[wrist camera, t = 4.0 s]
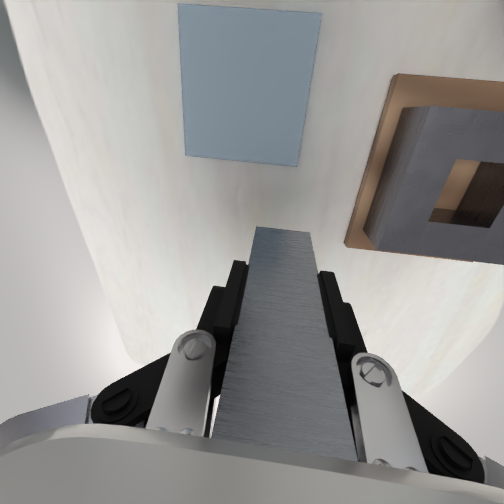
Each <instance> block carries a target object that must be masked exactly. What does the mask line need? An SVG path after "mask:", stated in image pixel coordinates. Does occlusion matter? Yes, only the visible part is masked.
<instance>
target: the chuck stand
mask: <svg viewBox="0 0 504 504" xmlns="http://www.w3.org/2000/svg"><path fill="white" fill-rule="evenodd" d="M419 106H441V107H453V108H464V109H476V110H488V111H500V112H504V82H498V81H485V80H472V79H460V78H447V77H434V76H422V75H409V74H397V75H394V76H393V79H392V82H391V85H390V89H389V92H388V96H387V99H386V102H385V106H384V109H383V113H382V116H381V119H380V123H379V126H378V129H377V133H376V136H375V140H374V143H373V146H372V150H371V153H370V157H369V160H368V163H367V167H366V170H365V174H364V177H363V180H362V184H361V187H360V191H359V194H358V197H357V201H356V204H355V208H354V211H353V214H352V218H351V221H350V225H349V228H348V231H347V235H346V238H345V242H344V243H345V245H346V247H348V248H357V249H365V250H374V251H381V250H377V249H376V248H375V246H374V245H373V244H372V242H371V241H370V239H369V238H368V237H367V235H366V234H365V232H364V231H363V228H364V225H365V222H366V218H367V215H368V212H369V209H370V206H371V203H372V200H373V197H374V194H375V191H376V188H377V185H378V182H379V179H380V176H381V173H382V169H383V166H384V163H385V160H386V157H387V154H388V151H389V148H390V145H391V142H392V139H393V136H394V133H395V130H396V127H397V124H398V120H399V117H400V114H401V111H402V108H404V107H419ZM480 162H481V161H472V160H461V159H456V161H455V163H454V166H453V168H452V170H451V172H450V174H449V177H448V179H447V181H446V183H445V185H444V187H443V190H442V192H441V194H440V196H439V198H438V200H437V203H436V205H435V207H434V208H441V209H450V210H456V209H457V207H458V205H459V203H460V201H461V199H462V197H463V195H464V193H465V192H466V190H467V188H468V186H469V184H470V182H471V180H472V178H473V176H474V174H475V172H476V170H477V168H478V166H479V164H480ZM383 252H390V251H383ZM391 253H398V252H391ZM400 254H407V253H400ZM408 255H416V254H408ZM417 256H424V255H417ZM425 257H433V256H425ZM434 258H441V257H434ZM442 259H450V258H442ZM451 260H458V259H451ZM460 261H467V260H460ZM468 262H473V261H468Z"/></svg>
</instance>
